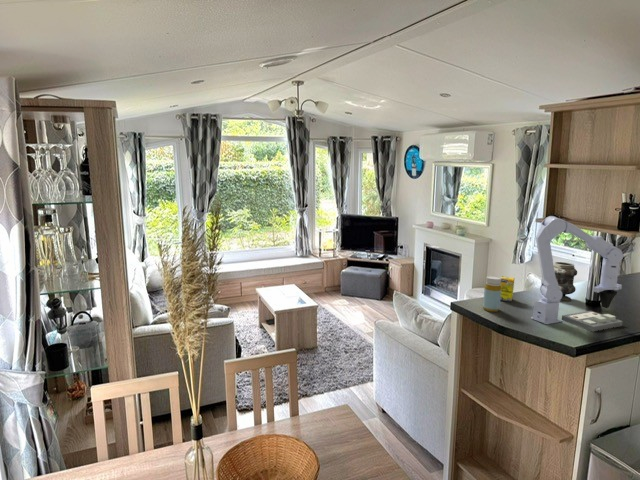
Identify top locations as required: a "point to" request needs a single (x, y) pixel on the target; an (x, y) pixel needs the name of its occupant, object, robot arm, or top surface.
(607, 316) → the right button
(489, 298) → the bottle
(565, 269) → the apothecary jar
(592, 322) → the left button
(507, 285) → the supplement box
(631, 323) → the top surface
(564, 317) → the button board
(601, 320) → the middle button
